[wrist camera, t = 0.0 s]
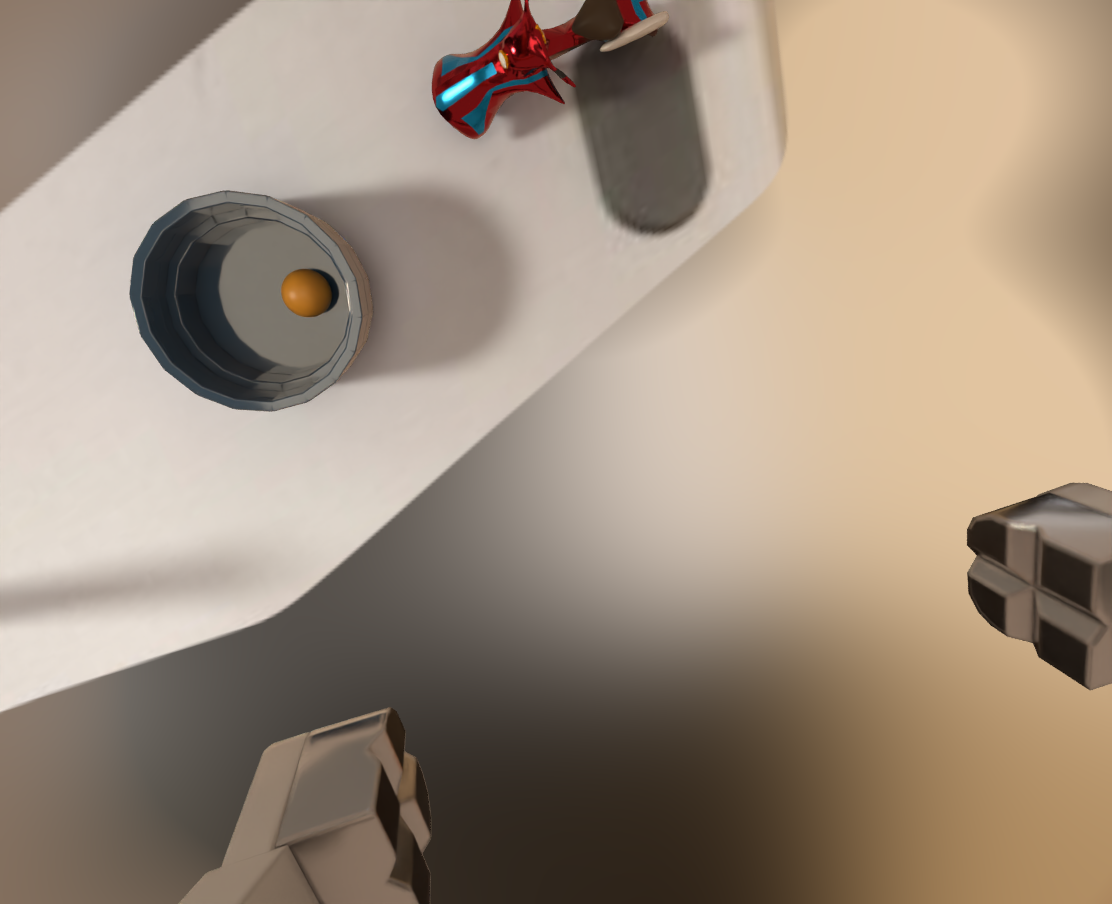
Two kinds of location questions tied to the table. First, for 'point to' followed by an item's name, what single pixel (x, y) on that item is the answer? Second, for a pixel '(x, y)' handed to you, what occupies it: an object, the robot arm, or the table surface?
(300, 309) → the bead
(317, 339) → the bowl
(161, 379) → the table surface
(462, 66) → the hoverbike
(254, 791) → the robot arm
